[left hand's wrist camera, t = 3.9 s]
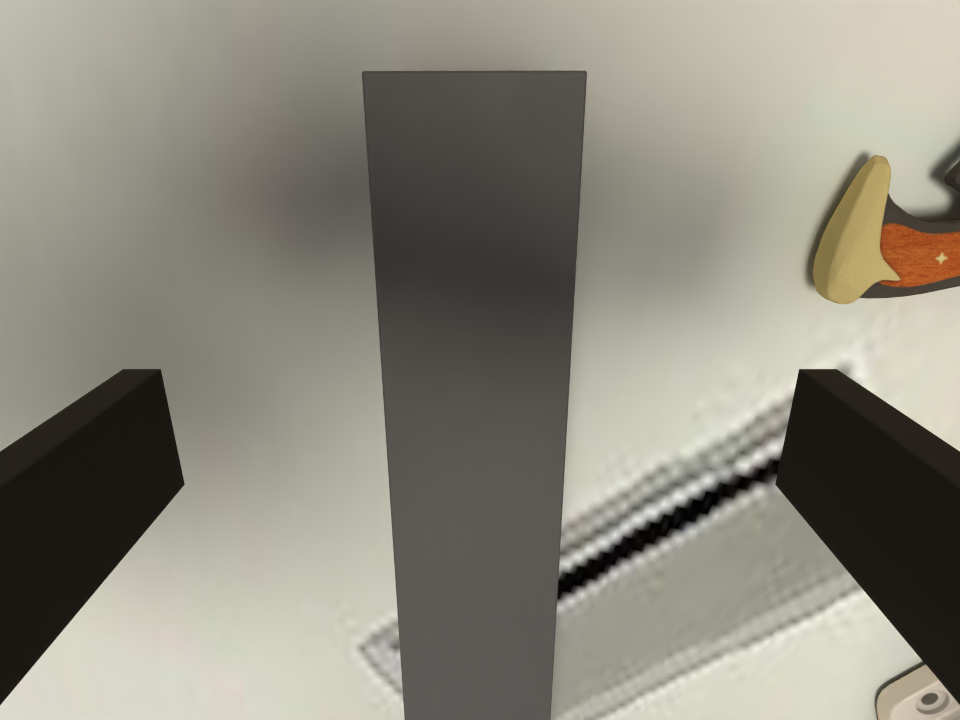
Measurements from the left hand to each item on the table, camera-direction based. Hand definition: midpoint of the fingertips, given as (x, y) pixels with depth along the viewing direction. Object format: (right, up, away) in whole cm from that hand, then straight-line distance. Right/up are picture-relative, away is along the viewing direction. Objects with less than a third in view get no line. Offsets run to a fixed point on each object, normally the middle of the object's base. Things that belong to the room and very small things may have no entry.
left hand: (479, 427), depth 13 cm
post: (0, -27, +24) cm, 36 cm away
